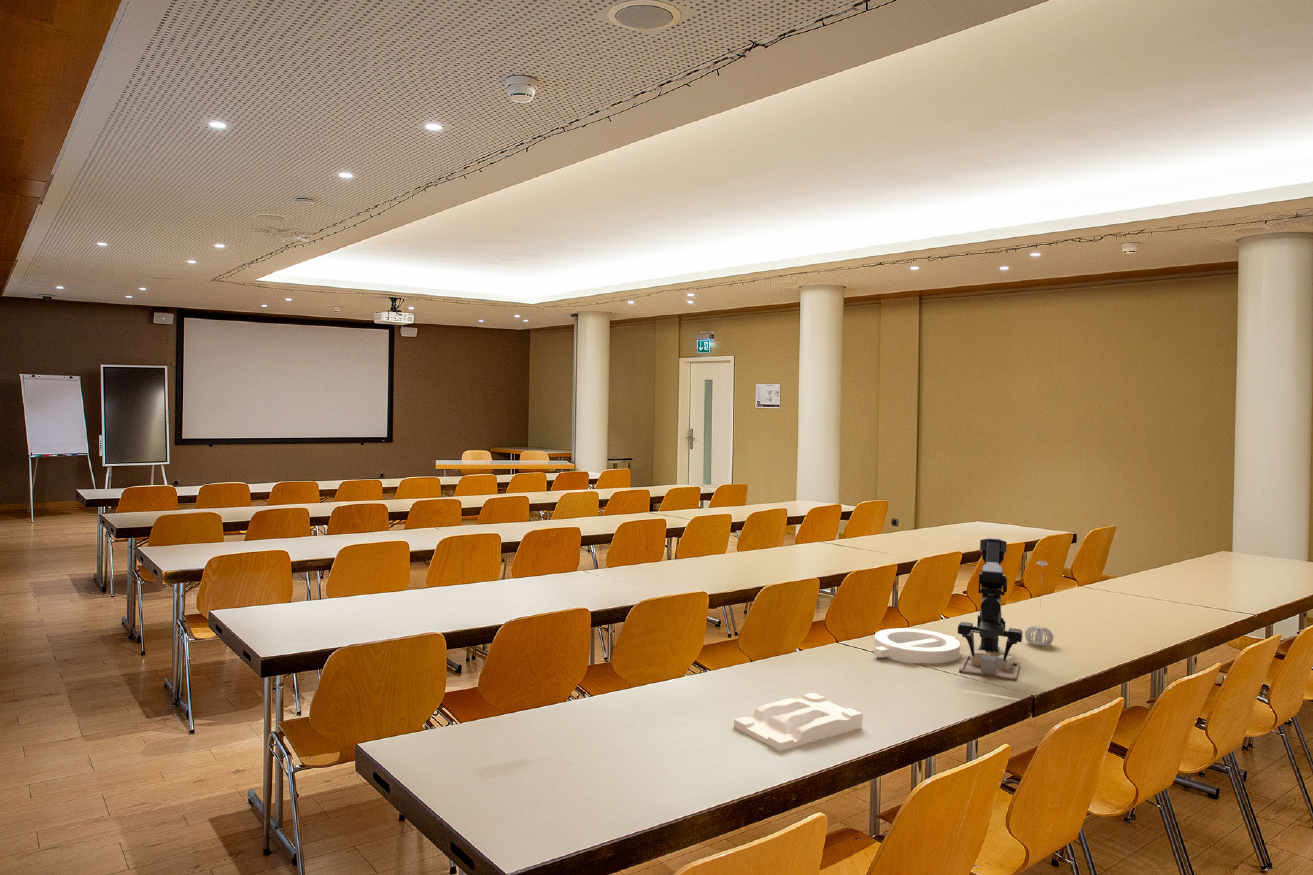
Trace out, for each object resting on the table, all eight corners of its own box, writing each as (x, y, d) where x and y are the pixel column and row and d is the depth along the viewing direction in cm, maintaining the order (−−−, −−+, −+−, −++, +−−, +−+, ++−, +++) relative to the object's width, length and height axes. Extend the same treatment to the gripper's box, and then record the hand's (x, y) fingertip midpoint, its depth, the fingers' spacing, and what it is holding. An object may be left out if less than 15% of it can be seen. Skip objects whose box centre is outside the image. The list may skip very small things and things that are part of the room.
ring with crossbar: (956, 645, 298) (956, 632, 297) (962, 669, 271) (963, 654, 270) (874, 638, 305) (875, 625, 305) (873, 660, 278) (873, 646, 278)
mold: (862, 729, 219) (863, 712, 219) (781, 753, 202) (781, 734, 202) (813, 708, 234) (813, 691, 234) (733, 728, 217) (733, 711, 217)
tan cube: (969, 661, 277) (970, 649, 277) (984, 662, 276) (984, 650, 276) (971, 664, 273) (972, 652, 273) (986, 665, 272) (986, 653, 272)
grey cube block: (982, 669, 268) (983, 654, 268) (995, 671, 266) (996, 656, 266) (980, 674, 263) (981, 658, 263) (994, 676, 262) (994, 660, 261)
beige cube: (1002, 664, 274) (1002, 654, 274) (1012, 667, 271) (1013, 656, 271) (995, 667, 271) (996, 656, 271) (1006, 670, 268) (1007, 659, 268)
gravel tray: (966, 658, 281) (966, 655, 281) (1019, 666, 273) (1019, 663, 273) (958, 673, 265) (959, 670, 265) (1015, 682, 257) (1015, 678, 257)
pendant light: (1056, 649, 295) (1059, 564, 294) (1028, 647, 297) (1031, 563, 296) (1049, 641, 304) (1052, 559, 303) (1022, 639, 306) (1025, 558, 305)
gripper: (956, 611, 261) (954, 660, 262) (1021, 619, 253) (1019, 670, 253) (960, 603, 271) (959, 651, 272) (1023, 611, 262) (1021, 660, 263)
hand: (988, 658), depth 265 cm, fingers open, 9 cm apart
